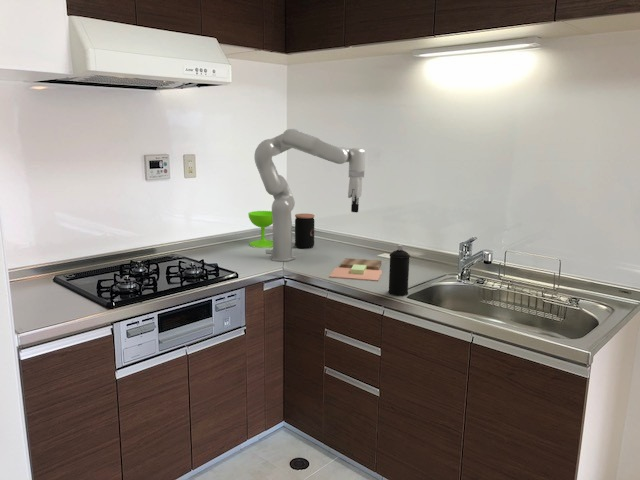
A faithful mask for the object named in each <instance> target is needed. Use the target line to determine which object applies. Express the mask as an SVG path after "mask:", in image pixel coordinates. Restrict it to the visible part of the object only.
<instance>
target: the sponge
mask: <svg viewBox="0 0 640 480" xmlns="http://www.w3.org/2000/svg"><path fill="white" fill-rule="evenodd" d="M366 266H367V265H357V264H354V265H353V266H352V268H351V274H363V275H364V273H365V271H366Z"/></svg>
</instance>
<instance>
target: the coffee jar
mask: <svg viewBox="0 0 640 480" xmlns="http://www.w3.org/2000/svg"><path fill="white" fill-rule="evenodd" d="M294 217H295V219H294V245H295V247H296V248H297V249H301V250H309V249H313V248H314V246H315V219H314V218H315V214H313V213H297V214H295V215H294Z"/></svg>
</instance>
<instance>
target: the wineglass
mask: <svg viewBox="0 0 640 480" xmlns="http://www.w3.org/2000/svg"><path fill="white" fill-rule="evenodd" d="M248 218H249V221H250V222H251V223H252V224H253V225H254V226H255V227H259V228H261V229H260V231H261V232H260V235H261V239H257V240H253V241H251V242H249V244H250V245H251V246H255V247H269V248H273V240H270V239H266V237H265V236H266V232H265V231H266V229H265V228H267V227H270V226H271V225H272V226H273V219H272V210H256V211H250V212H248ZM251 246H250V247H251ZM255 247H254V248H255Z"/></svg>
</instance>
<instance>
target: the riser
mask: <svg viewBox="0 0 640 480" xmlns="http://www.w3.org/2000/svg"><path fill="white" fill-rule="evenodd" d="M354 264H357V265H367V266H366V269H370V270H381V267H382V260H378V259H377V260H375V259H365V258H363V259H360V258H349V257H347V258H346V257H345V258H344V259H343V260H342V262H341V263H340V267H343V268H352V266H353V265H354Z"/></svg>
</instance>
